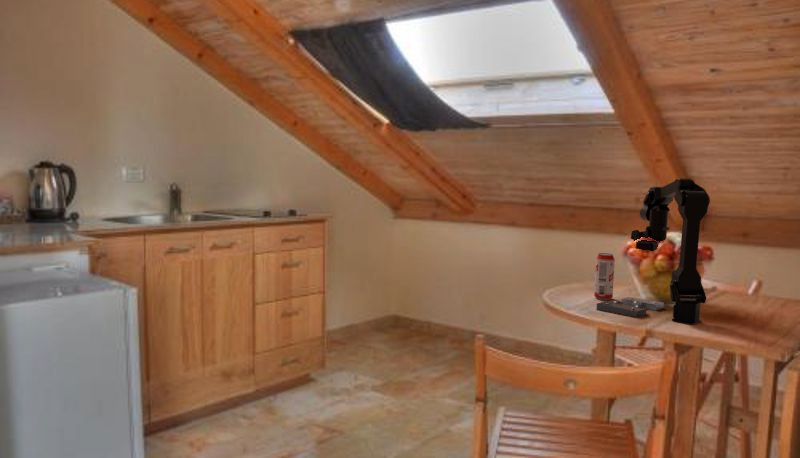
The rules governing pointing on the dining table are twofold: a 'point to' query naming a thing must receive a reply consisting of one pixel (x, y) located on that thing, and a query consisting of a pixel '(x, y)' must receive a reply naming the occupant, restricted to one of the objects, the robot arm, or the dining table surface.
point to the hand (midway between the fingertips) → (655, 268)
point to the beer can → (604, 276)
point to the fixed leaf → (622, 308)
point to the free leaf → (643, 303)
